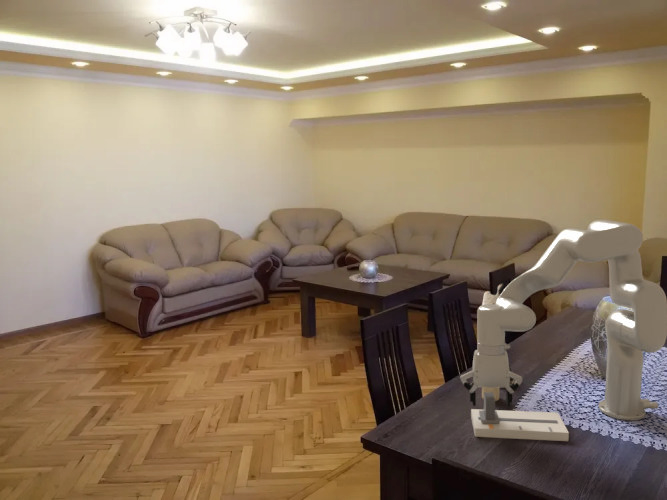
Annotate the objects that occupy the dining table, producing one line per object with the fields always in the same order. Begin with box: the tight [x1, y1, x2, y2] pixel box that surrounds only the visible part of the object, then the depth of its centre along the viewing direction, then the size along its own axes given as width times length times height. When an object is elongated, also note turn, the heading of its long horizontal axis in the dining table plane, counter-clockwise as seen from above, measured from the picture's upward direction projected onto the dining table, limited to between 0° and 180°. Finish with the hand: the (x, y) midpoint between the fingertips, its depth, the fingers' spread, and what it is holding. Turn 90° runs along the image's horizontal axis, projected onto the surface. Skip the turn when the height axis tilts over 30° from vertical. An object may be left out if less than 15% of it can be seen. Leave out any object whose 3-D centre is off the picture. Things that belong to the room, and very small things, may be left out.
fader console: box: [470, 408, 570, 442], centre depth 157 cm, size 25×12×3 cm, turn 81°
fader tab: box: [479, 392, 499, 423], centre depth 157 cm, size 5×6×7 cm
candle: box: [481, 387, 500, 402], centre depth 176 cm, size 6×6×10 cm
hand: (490, 404), depth 157 cm, fingers open, 9 cm apart
